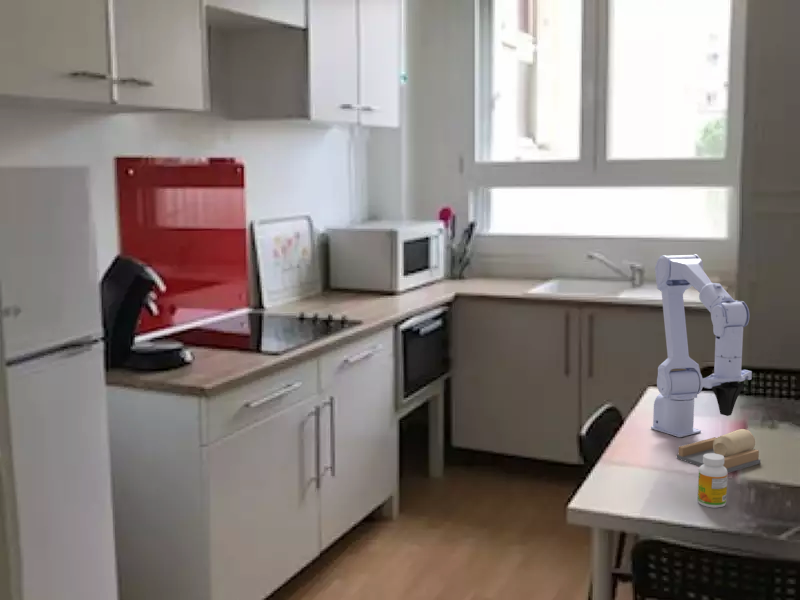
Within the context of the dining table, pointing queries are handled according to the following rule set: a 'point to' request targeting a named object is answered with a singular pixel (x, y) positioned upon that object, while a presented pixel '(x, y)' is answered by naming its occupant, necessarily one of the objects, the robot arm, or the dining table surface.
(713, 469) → the supplement bottle
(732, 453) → the candle
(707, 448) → the tray
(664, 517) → the dining table surface
